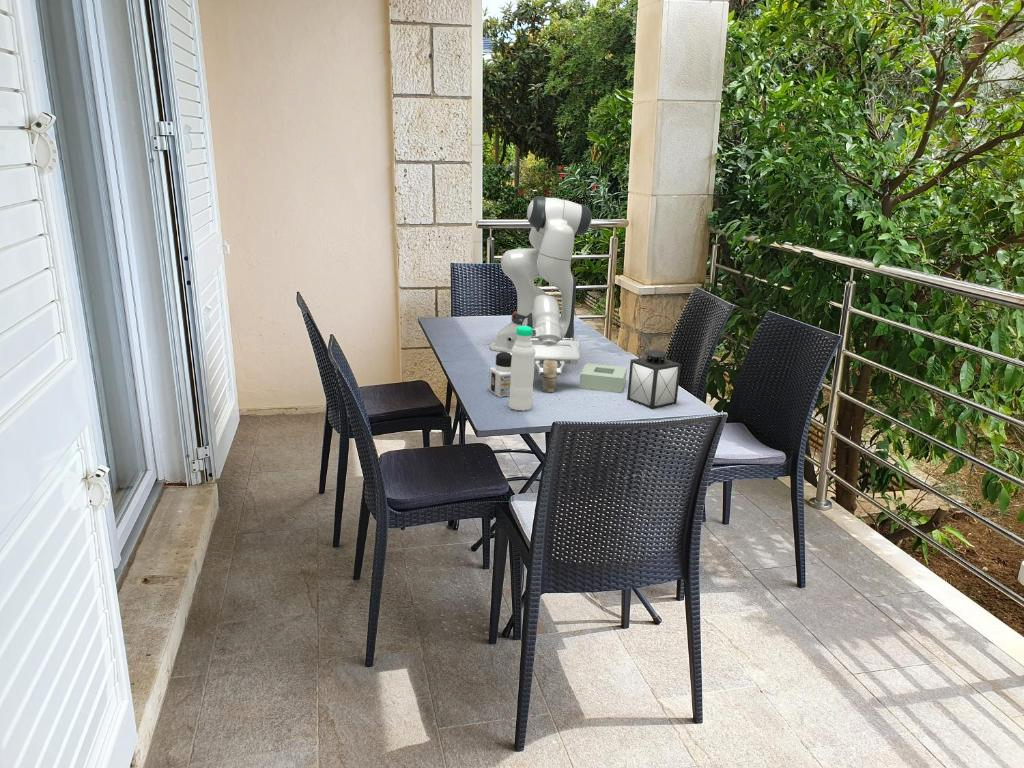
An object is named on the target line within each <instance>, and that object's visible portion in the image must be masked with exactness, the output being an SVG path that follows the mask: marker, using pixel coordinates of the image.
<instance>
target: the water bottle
mask: <svg viewBox="0 0 1024 768" xmlns="http://www.w3.org/2000/svg"><path fill="white" fill-rule="evenodd" d="M532 333H533V330H532V328H531V327H528V326H519V327H517V330H516V334H517V336H518V339H517V340H516V342H515V345H514V346H513V348H512V359H511V375H510V379H511V385H510V396H509V400H508V406H509V409H511V410H513V409H515V410H514V411H516V410H527V411H529V410H528V409H530V410H532V408H533V395H534V386H533V385H534V379H535V364H534V356H535V349H534V346H533V343H532V341H531V336H532Z"/></svg>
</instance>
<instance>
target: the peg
mask: <svg viewBox="0 0 1024 768" xmlns="http://www.w3.org/2000/svg"><path fill="white" fill-rule="evenodd" d="M542 366H543V367H542V368H543V369H544V370H543V371H544V374H543V375H542V382H541V383H542V384H541V385H542V386H543V392H544V391H545V392H544V393H546V392H553V393H554V392H555V387H556V385H557V376H558V375H557V368H558V364H557V361H555V360H544V364H543V365H542Z"/></svg>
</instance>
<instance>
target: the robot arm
mask: <svg viewBox="0 0 1024 768" xmlns="http://www.w3.org/2000/svg"><path fill="white" fill-rule="evenodd" d="M526 216H527V221H528V223H529V224H530V226H531V228H530V231H529V235H528V238H529V243H530V245H531V246H532V248H527V247H526V248H523V247H521V248H514V249H509V250H506V251H505V252H504V253H503V254H502V257H501V260H500V267H501V270H502V273H503V274H504V275H505V276H506V277H507V278H509V279H510V281H511V282H512V283H513V285H514V288H515V290H516V297H517V305H516V308H517V309H516V311H514V312H512V314H511V322H510V323H508V324H506V325H505V326H504V327H502V328H501V329H499V331H497V334H496V338H495V340H493V341H492V342H491V343H490V345H489V349H490V350H492V351H498V352H510V353H512V348H513V346H514V345H515V342H516V340H517V339H518V336H517V334H516V330H517V327H519V326H528V327H531V328H532V330H533V333H532V336H531V341H532V343H533V346H534V349H535V356H534V368H535V369H536V370H537V372H538V373H537V374H538V375H539V376H543V374H544V371H543V370H544V369H543V367H541V364H543V365H544V360H555V361H557V365H558V366H559V368H558V367H557V376H562V371H563V369H564V367H565V365H578V364H579V363H580V360H581V353H580V352H581V351H580V348H581V347H580V345H581V344H580V341H579V339H577V338H575V309H576V297H577V296H576V295H577V281H576V277H575V275H574V274H573V273H572V269H571V261H572V257H573V251H574V248H575V247H574V246H575V236H583V235H584V234H586V233H587V232H588V231H589V229H590V227H591V224H592V211H591V209H590V207H588V206H587V205H584V204H582V203H580V204H579V203H577V202H573V201H570V200H567V199H561V198H558V197H546V196H543V195H542V196H540V195H538V196H534V197H533V198H532V199H531V201H530V203H529V204H528V206H527V210H526ZM535 279H543V280H544V281H546V282H548V283H549V284H550V285H551V286H553V287H555V288H556V289H558V290H559V292H560V293H561V294H560V295H561V307H560V305H559V302H558V299H557V298H556V296H554V295H551V294H547V293H546V292H545V291H544V290H543V289H542V288H541V287H538V286H537V285H535V282H534V281H535Z"/></svg>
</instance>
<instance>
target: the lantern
mask: <svg viewBox="0 0 1024 768" xmlns="http://www.w3.org/2000/svg"><path fill="white" fill-rule="evenodd" d="M654 317H664V318H666V319H668V320H669V321H670V322H671V323H672V325H673V328H674V329H673V330H674V331H676V327H675V324H674V322H673V321H672V320H671V319H670V318H669V317H667V316H665V315H662V314H661V315H659V314H657V315H652V316H650V317H648V318H647V319H646V320H645V321H644V323H643V325H642V327H641V332H640V335H642V333H643V329H644V326H645V324H646V322H647V321H648V320H649V319H651V318H654ZM639 338H640V339H639V349H641V343H642V336H640V337H639ZM675 347H676V341H674V344H673V351H675V349H676V348H675ZM644 354H645V355H646V356H645V357H641V354H638V355H639V357H638V358H634V359H630V365H629V372H628V373H629V375H628V385H627V394H626V395H627V396H626V400H627V401H629V400H630V402H632V401H633V403H635V404H637V403H638V405H640V406H642V405H643V406H642V407H645V408H648V409H650V410H656V409H659V408H664V407H668V406H672V404H673V405H674V404H675V405H677V403H678V402H677V401H678V392H679V383H680V374H681V367H682V366H681V365H682V364H681V363H679V362H676V361H675V360H674V359H675V352H673V353H672V355H673V357H672V360H670V359H667V358H666V357H668V356H669V355H668V354H667V353H666V352H665V351H663V350H658V349H650V350H649V349H648V351H646V352H645V353H644Z"/></svg>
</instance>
